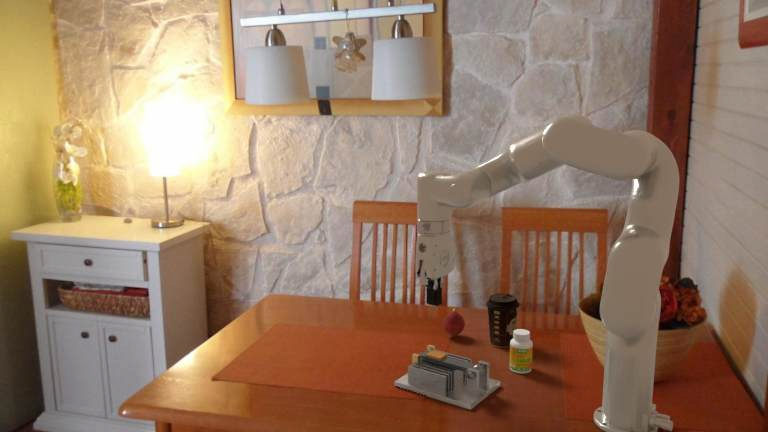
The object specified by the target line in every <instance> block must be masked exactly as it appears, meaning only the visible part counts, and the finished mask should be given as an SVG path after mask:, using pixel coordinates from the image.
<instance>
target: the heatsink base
mask: <svg viewBox="0 0 768 432" xmlns="http://www.w3.org/2000/svg"><path fill="white" fill-rule="evenodd" d="M432 350H434V351H438V352H441V353H445V354H447V357H451V358H454V359H458V360H462V361H465V362H469V363H472V359H471V358H469V357H464V356H461V355H456V354H453V353H450V352H447V351H446V352H445V351H441V350H439V349H436V345H433V344H428V345H426V351H429V352H430V351H432ZM419 354H420V353H419ZM419 354H417V353H416V352H415V353H413V354H411V364H410V365H407V372H406V373H405V374H404V375H402V376H401V377H400V378H398V379H396V380H395V381H394V387H395V386H398V387H400V388H399V389H402V388H403V389H402V390H405V389H407V390H406V391H408V390H411V391H414V392H417V393H416V394H418V393H420V394H419V395H421V394H423V395H422V396H424V395H426V396H425V397H428V398H431V399H433V400H434V399H435V400H437V401H440V402H443V403H447V404H450V405H452V406H453V405H454V406H457V407H460V408H462V409H466V410H470V411H471V410H472V409H474V408H475V407H476V406H477V405H479V404H480V403H481V402H482V401H484V400H485V399H486V398H487V397H489V396H490V395H491V394H492V393H494V392H495V391H496V390H497V389H498V388H499V387H501V381H500V380H497V379H493V378H490V362H488V361H484V360H478V361H477V362H476V363H477V364H478V363H483V364H484V365H485V366H486V372H485V373H483V374H482V375H481V376H479V370H476V369H472V368H469V369H467V372H463V371H460V370H456V369H453V368H449V367H446V366H442V365H439V364H435V363H432V362H428V361H425V360H421V359H420V355H419ZM477 364H476V365H477ZM398 387H397V388H398ZM411 391H410V392H411ZM414 392H413V393H414Z"/></svg>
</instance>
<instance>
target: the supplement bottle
mask: <svg viewBox="0 0 768 432" xmlns="http://www.w3.org/2000/svg"><path fill="white" fill-rule="evenodd" d="M513 337H514V338H513V339H512V340H511V341H510V347H509V369H510V371H511V372H513V373H516V374H522V375H523V374H528V373H531V372H532V369H533V346H534V345H533V344H534V343H533V341H532V340H531V339H530V338H531V332H530V331H529V330H528V329H524V328H517V329H515V330H514V331H513Z"/></svg>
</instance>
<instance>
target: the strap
mask: <svg viewBox="0 0 768 432" xmlns="http://www.w3.org/2000/svg"><path fill="white" fill-rule="evenodd" d="M438 351H439V350H438ZM438 351H434V350H432V351H430V352H429V351H427V349H426V350H424V351H422V352H420V353H419V355H420V359H421V360H425V361H428V362H432V363H435V364H439V365H442V366H446V367H449V368H453V369H456V370H460V371H463V372H467V369H469V368H472V369H476V370H479V376H481V375H482V374H483V373H485V372H486V366H485V365H484V364H483V363H478V364H476V363H473V362H471V363H469V362H465V361H462V360H458V359H454V358H451V357H447V354H445V353H441V352H438Z"/></svg>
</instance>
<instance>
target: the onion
mask: <svg viewBox="0 0 768 432" xmlns="http://www.w3.org/2000/svg"><path fill="white" fill-rule="evenodd" d="M465 323H466V322H465V319H464V317H463V315H462V314H461V313H459V312H458V311H457V309H456V308H453V309H452V310H451V312H449V313H448V314H447V315H446V316H445V317H444V319H443V323H442V324H443V328H444V331H445V332H446V333H447V334H448V335H449V336H451V337H453V338H456V337H457V336H459V335H460V334H461V333H462V332H463V331H464V330H465V326H466V324H465Z"/></svg>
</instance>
